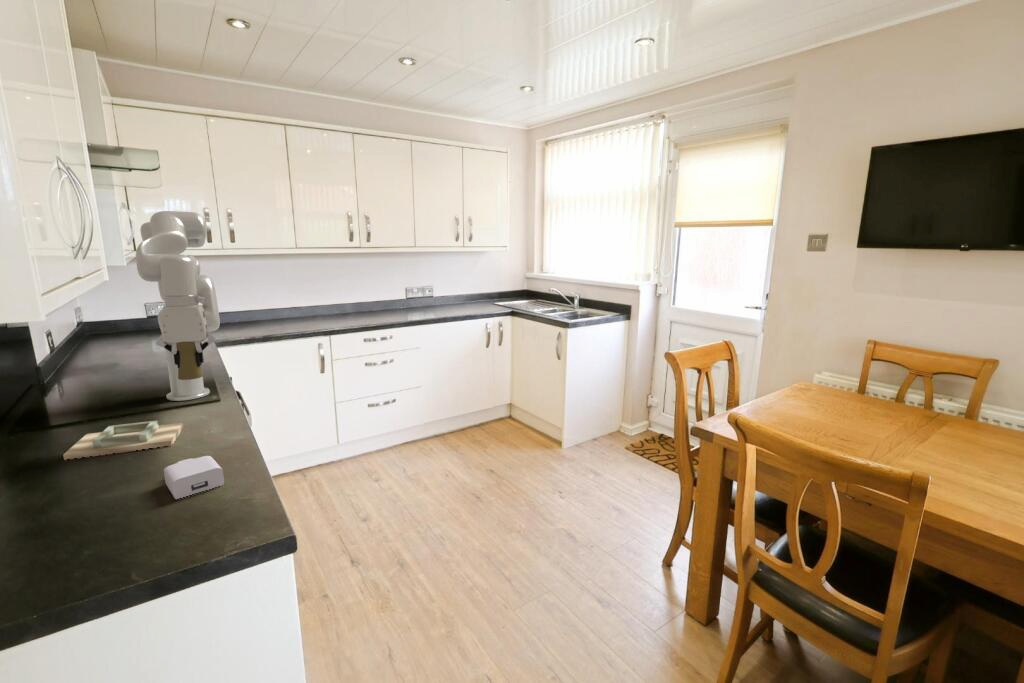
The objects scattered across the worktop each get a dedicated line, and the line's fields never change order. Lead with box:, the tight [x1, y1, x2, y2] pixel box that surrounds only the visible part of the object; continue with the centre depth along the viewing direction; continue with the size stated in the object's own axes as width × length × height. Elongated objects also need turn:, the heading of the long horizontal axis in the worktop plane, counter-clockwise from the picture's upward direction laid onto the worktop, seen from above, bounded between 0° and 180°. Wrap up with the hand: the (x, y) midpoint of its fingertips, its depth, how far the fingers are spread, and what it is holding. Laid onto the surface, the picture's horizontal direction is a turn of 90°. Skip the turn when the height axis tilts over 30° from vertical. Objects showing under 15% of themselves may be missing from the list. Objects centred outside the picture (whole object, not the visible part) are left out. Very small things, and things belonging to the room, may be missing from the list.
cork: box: [176, 342, 205, 380], centre depth 131 cm, size 6×6×11 cm
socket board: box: [62, 420, 185, 461], centre depth 125 cm, size 14×22×4 cm, turn 114°
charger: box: [163, 455, 225, 500], centre depth 105 cm, size 5×9×15 cm
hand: (189, 365), depth 131 cm, fingers closed on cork, 3 cm apart
